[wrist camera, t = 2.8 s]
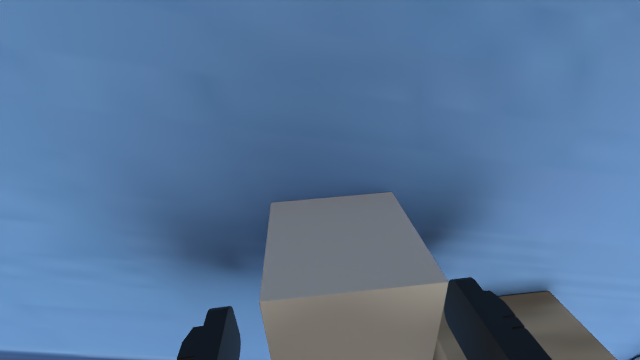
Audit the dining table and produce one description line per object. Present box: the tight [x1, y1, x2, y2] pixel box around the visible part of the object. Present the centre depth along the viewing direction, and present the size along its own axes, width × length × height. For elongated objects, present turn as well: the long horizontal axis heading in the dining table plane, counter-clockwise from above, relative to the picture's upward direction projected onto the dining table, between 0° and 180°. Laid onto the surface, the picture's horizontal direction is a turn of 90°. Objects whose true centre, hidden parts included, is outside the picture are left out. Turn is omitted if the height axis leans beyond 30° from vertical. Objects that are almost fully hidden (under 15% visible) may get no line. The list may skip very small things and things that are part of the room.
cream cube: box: [259, 192, 448, 360], centre depth 11 cm, size 5×5×5 cm
